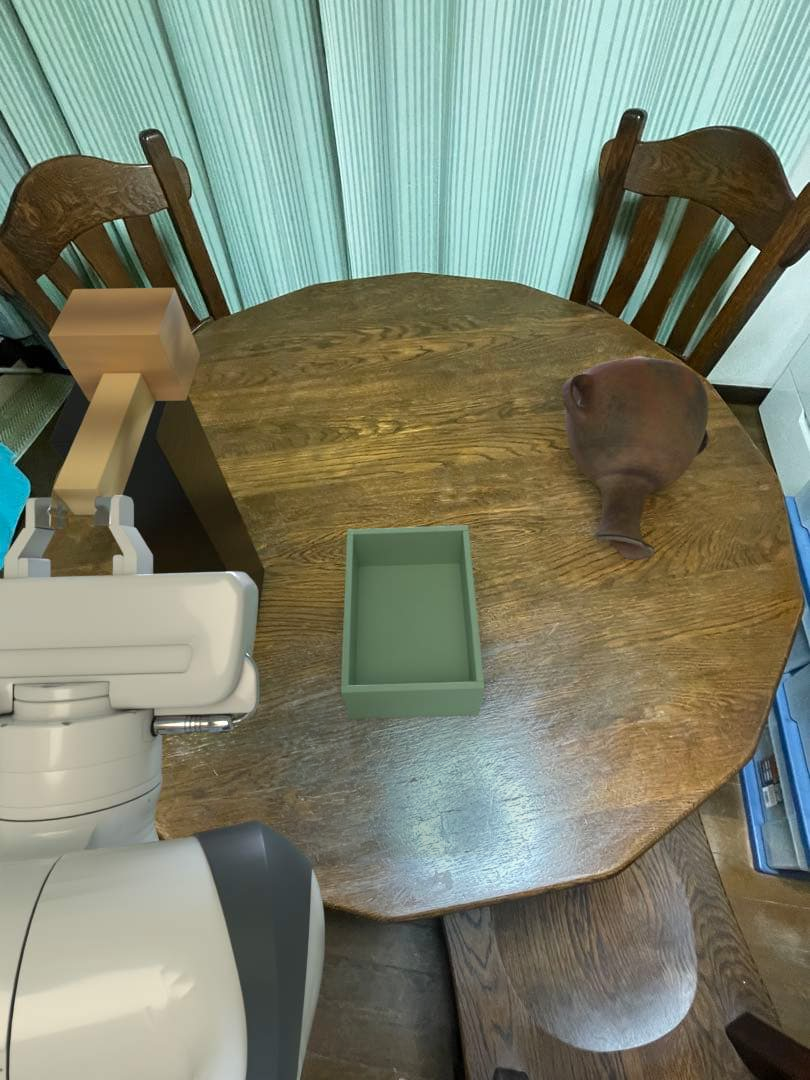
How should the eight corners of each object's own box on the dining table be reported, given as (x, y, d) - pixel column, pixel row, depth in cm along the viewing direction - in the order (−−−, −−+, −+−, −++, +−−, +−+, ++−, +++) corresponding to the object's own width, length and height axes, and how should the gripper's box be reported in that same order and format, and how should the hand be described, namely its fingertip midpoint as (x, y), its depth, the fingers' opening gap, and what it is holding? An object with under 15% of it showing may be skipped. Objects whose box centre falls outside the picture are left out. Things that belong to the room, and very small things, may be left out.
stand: (257, 626, 79) (155, 438, 49) (190, 629, 79) (48, 442, 49) (264, 569, 84) (176, 366, 54) (201, 571, 84) (79, 370, 54)
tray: (478, 715, 71) (484, 688, 64) (349, 719, 72) (340, 692, 64) (464, 564, 84) (468, 525, 76) (354, 567, 84) (347, 529, 76)
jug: (575, 406, 100) (545, 565, 89) (572, 318, 84) (535, 499, 72) (707, 411, 93) (693, 584, 82) (732, 315, 77) (720, 517, 65)
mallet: (151, 514, 36) (111, 452, 31) (38, 515, 36) (-18, 453, 32) (200, 354, 44) (174, 287, 40) (109, 356, 45) (72, 288, 40)
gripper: (244, 747, 31) (241, 483, 31) (-148, 758, 31) (-139, 495, 32) (273, 718, 37) (269, 499, 38) (-53, 728, 37) (-48, 509, 38)
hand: (80, 497), depth 35 cm, fingers closed on mallet, 2 cm apart
